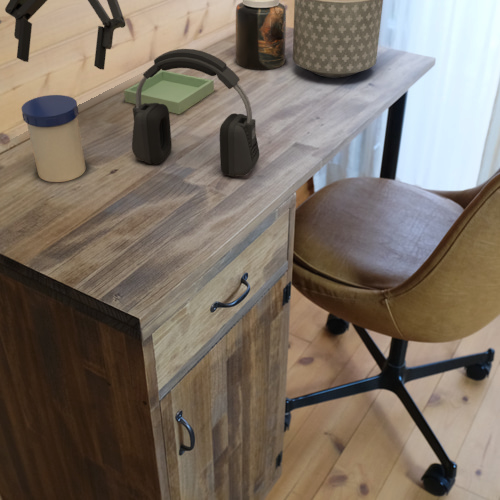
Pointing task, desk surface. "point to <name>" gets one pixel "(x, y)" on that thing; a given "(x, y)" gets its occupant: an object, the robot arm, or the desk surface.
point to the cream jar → (58, 151)
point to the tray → (171, 90)
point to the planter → (336, 35)
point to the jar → (260, 34)
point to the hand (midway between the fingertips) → (60, 64)
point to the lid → (50, 110)
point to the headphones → (158, 122)
